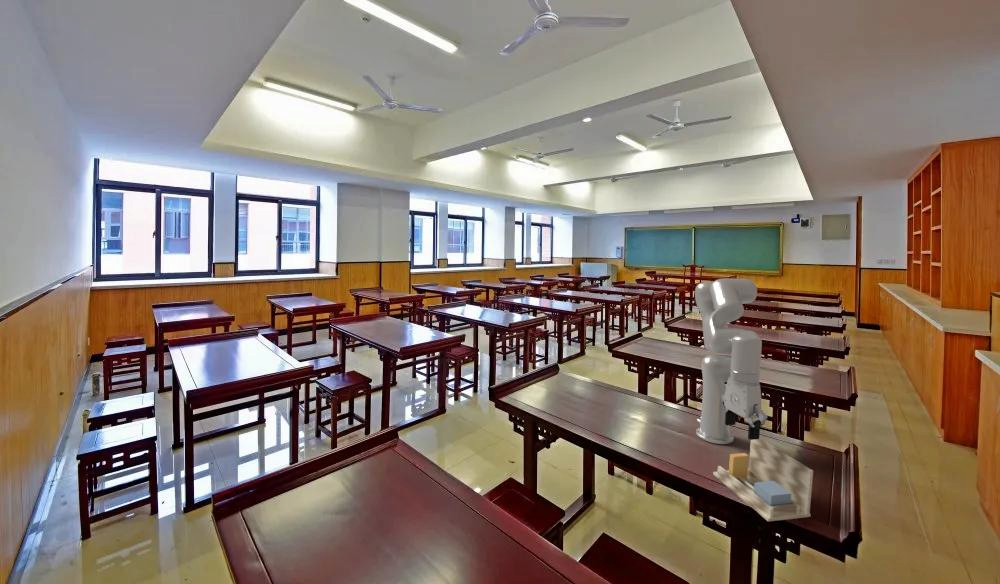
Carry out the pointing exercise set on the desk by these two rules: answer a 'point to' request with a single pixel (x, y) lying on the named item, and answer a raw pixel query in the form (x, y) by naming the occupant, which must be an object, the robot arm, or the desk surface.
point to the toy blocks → (764, 490)
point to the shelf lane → (773, 467)
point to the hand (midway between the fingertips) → (741, 431)
